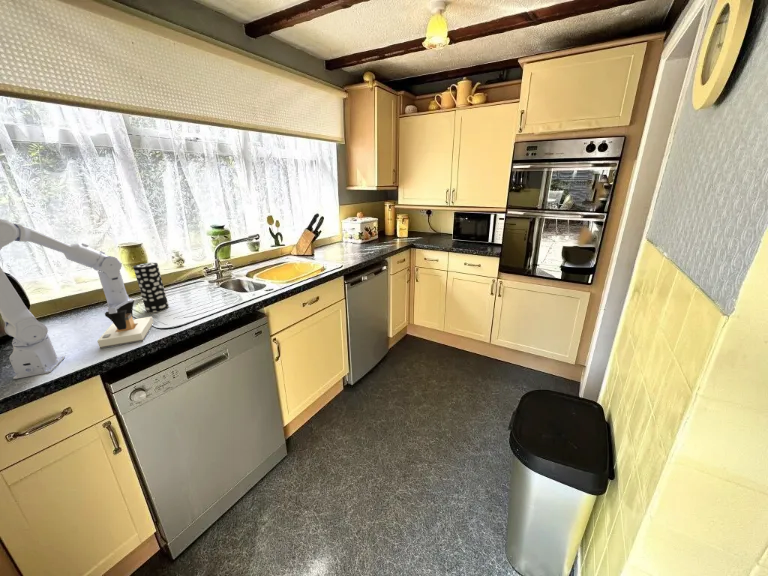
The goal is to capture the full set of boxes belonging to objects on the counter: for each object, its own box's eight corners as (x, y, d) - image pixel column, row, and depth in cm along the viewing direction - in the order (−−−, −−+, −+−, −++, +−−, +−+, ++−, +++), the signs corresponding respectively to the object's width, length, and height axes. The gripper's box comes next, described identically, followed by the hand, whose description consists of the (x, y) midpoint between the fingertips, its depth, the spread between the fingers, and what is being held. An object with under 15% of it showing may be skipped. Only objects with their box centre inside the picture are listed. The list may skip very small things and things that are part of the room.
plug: (133, 334, 111) (128, 317, 109) (119, 337, 110) (113, 319, 107) (136, 330, 115) (131, 313, 112) (123, 332, 113) (117, 315, 111)
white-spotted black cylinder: (143, 313, 131) (130, 268, 125) (149, 306, 139) (137, 263, 132) (166, 310, 134) (154, 266, 128) (170, 304, 142) (159, 261, 135)
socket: (143, 341, 108) (140, 332, 107) (100, 348, 103) (96, 339, 102) (153, 323, 122) (151, 315, 121) (115, 329, 117) (113, 321, 116)
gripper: (122, 294, 102) (133, 330, 106) (134, 282, 115) (144, 315, 119) (95, 297, 99) (108, 335, 104) (110, 284, 112) (121, 318, 116)
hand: (125, 324), depth 111 cm, fingers open, 7 cm apart
